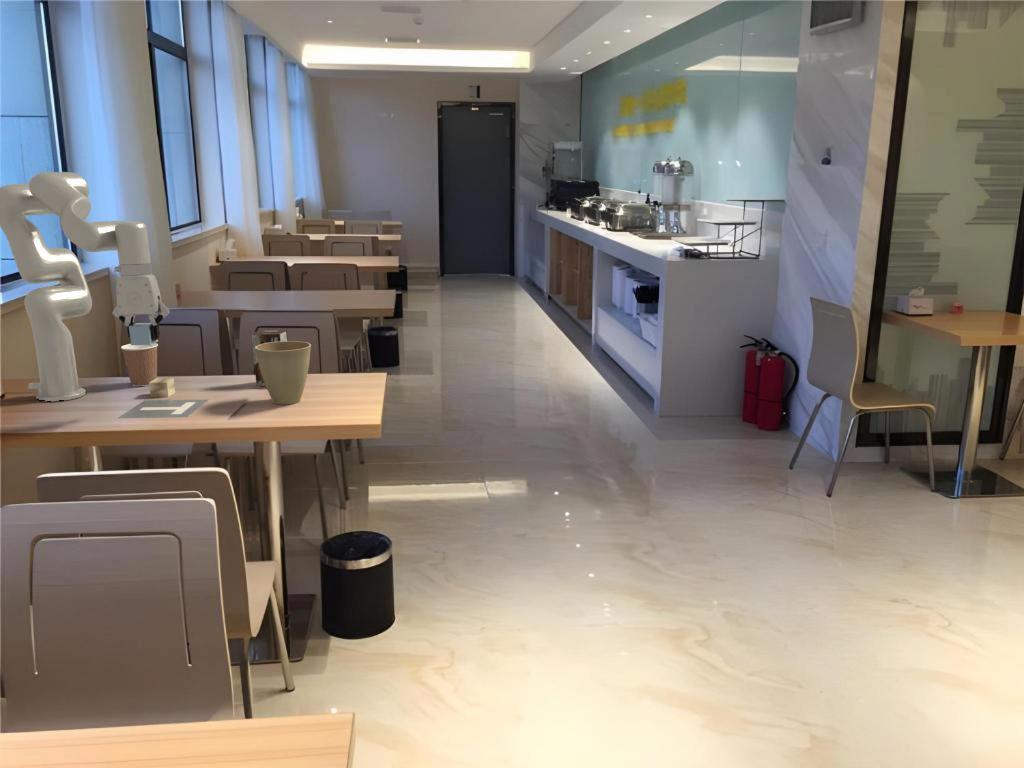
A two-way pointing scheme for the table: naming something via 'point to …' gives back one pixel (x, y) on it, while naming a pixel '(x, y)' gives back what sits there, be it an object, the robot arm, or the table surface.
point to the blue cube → (141, 334)
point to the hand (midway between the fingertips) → (144, 339)
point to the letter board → (164, 409)
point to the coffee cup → (141, 363)
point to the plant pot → (284, 369)
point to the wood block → (162, 387)
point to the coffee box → (262, 338)
